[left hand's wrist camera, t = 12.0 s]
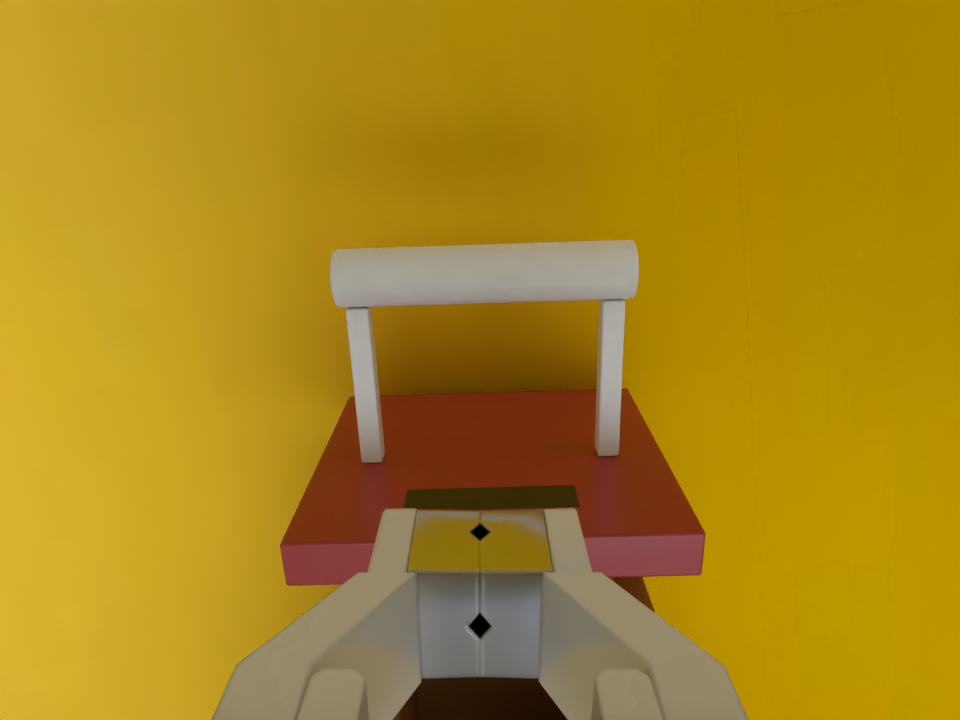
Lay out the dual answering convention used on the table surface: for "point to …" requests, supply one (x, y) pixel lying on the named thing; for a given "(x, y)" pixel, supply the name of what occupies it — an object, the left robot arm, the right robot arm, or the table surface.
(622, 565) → the drawer
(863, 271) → the table surface
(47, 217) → the table surface
